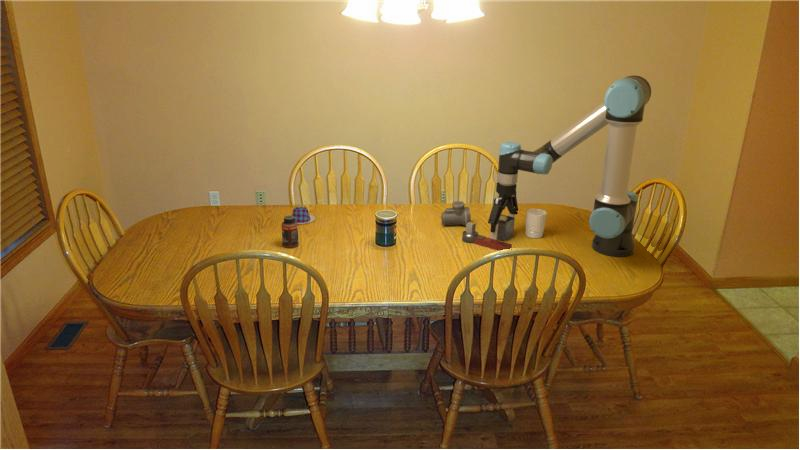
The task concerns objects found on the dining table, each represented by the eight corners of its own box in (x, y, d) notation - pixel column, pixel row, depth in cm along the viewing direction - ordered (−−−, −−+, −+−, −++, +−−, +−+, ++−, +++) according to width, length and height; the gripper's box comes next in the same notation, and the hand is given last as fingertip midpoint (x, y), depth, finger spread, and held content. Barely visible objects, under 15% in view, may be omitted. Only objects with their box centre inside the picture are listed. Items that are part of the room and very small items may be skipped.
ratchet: (512, 249, 220) (514, 232, 218) (505, 254, 216) (506, 236, 213) (467, 236, 231) (468, 219, 229) (459, 240, 227) (460, 223, 224)
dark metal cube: (512, 236, 232) (514, 217, 229) (505, 241, 227) (507, 222, 224) (498, 232, 235) (500, 214, 232) (490, 237, 231) (492, 218, 228)
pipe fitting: (469, 220, 246) (468, 198, 242) (472, 229, 239) (471, 206, 234) (441, 223, 247) (439, 200, 242) (442, 231, 239) (441, 209, 235)
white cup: (544, 240, 229) (547, 216, 226) (523, 238, 231) (526, 214, 227) (543, 232, 236) (546, 209, 233) (523, 230, 238) (526, 207, 234)
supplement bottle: (301, 243, 221) (300, 215, 217) (293, 249, 216) (292, 220, 212) (287, 241, 223) (286, 213, 219) (279, 247, 218) (278, 218, 214)
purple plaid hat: (317, 215, 250) (317, 204, 248) (311, 226, 239) (311, 214, 237) (290, 214, 251) (289, 203, 249) (282, 224, 240) (282, 212, 238)
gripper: (513, 173, 234) (508, 223, 242) (481, 188, 216) (477, 241, 224) (530, 177, 230) (524, 227, 238) (499, 192, 212) (494, 246, 219)
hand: (501, 234), depth 231 cm, fingers open, 13 cm apart
